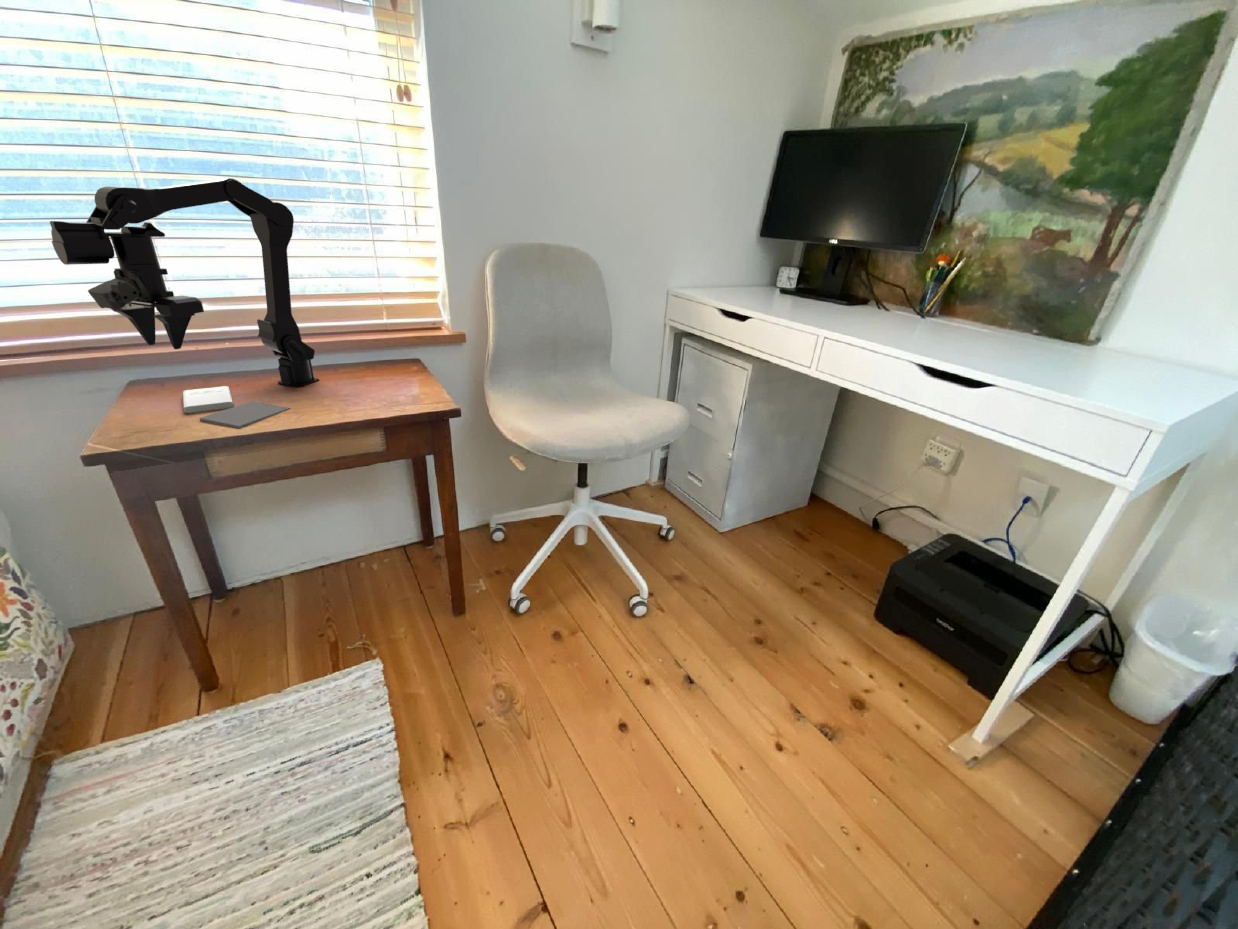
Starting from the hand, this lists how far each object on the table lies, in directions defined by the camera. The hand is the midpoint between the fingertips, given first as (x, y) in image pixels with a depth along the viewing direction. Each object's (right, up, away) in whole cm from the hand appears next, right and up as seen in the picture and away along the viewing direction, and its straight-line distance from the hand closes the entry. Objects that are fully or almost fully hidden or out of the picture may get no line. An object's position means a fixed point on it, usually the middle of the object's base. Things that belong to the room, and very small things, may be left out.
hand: (164, 346), depth 105 cm
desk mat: (+13, -13, +5) cm, 19 cm away
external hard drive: (+5, -12, +5) cm, 14 cm away
